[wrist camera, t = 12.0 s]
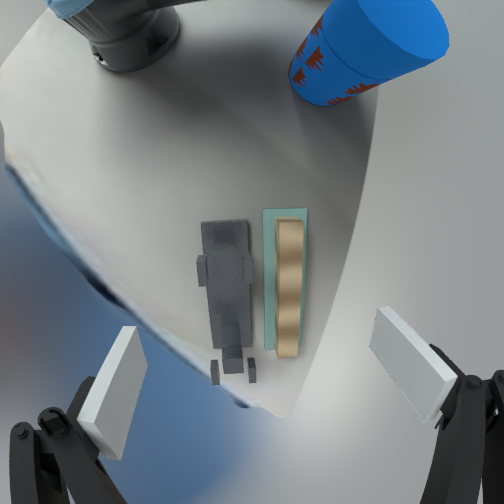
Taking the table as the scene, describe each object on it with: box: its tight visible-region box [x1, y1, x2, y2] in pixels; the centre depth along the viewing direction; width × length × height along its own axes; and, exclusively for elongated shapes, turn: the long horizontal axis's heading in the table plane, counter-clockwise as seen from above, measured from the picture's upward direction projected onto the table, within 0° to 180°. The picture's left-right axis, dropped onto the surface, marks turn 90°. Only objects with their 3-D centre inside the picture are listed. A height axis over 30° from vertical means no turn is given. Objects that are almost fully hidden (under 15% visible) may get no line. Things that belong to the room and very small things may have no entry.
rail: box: [274, 216, 304, 358], centre depth 44 cm, size 24×4×4 cm, turn 2°
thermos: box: [289, 0, 449, 106], centre depth 25 cm, size 11×11×25 cm
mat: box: [262, 208, 307, 349], centre depth 47 cm, size 26×7×1 cm, turn 2°
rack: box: [196, 219, 256, 385], centre depth 40 cm, size 23×7×13 cm, turn 2°
